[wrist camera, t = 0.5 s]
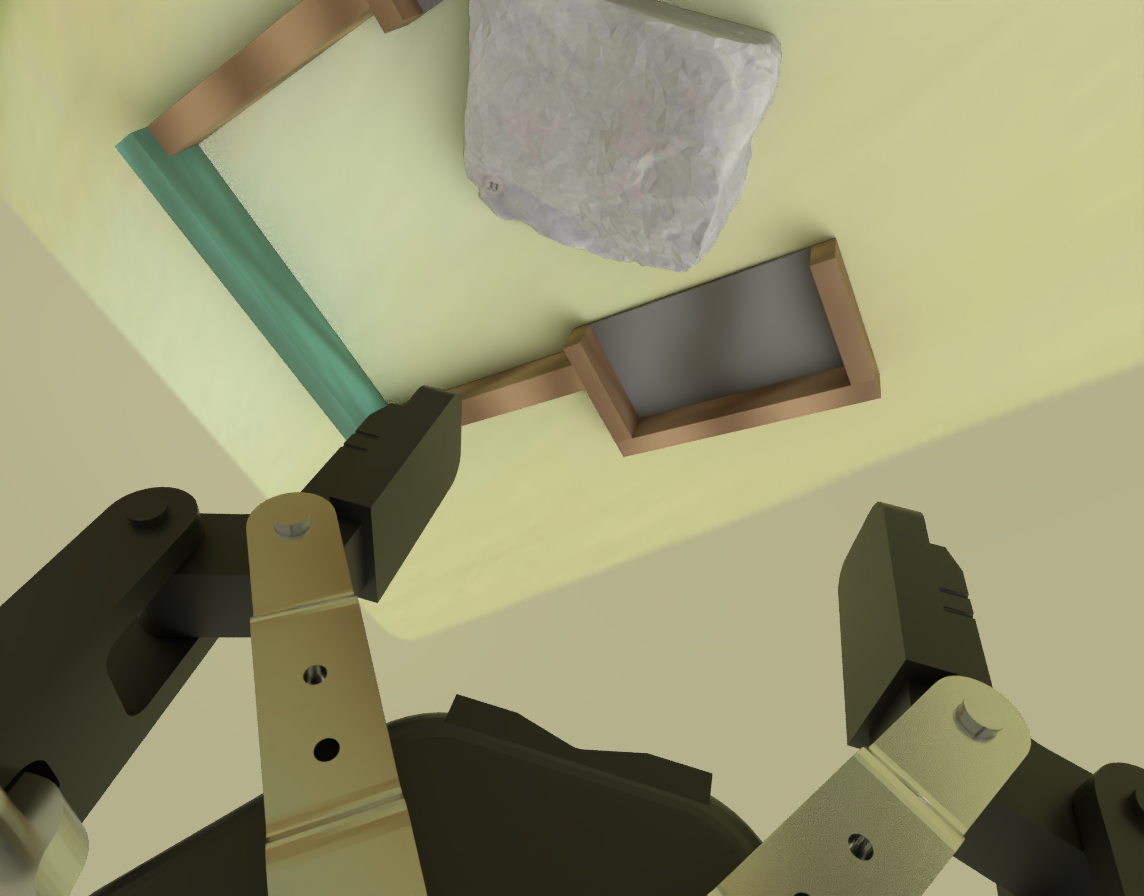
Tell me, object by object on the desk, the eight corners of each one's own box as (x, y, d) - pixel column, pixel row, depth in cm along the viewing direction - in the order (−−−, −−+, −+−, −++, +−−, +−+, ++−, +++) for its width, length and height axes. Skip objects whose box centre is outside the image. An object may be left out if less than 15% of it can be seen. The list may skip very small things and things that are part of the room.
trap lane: (605, -477, 20) (574, -520, 17) (879, 373, 33) (881, 410, 30) (91, 38, 34) (39, 50, 32) (426, 485, 47) (405, 515, 45)
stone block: (728, 242, 33) (806, 10, 25) (703, 306, 30) (782, 67, 22) (495, 169, 35) (498, -71, 27) (451, 223, 32) (440, -27, 24)
